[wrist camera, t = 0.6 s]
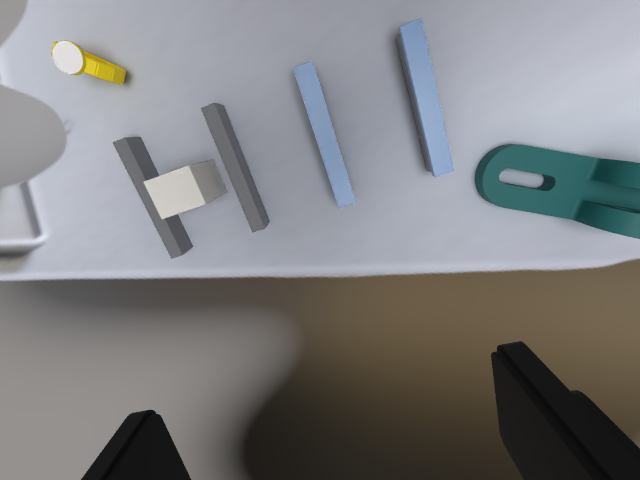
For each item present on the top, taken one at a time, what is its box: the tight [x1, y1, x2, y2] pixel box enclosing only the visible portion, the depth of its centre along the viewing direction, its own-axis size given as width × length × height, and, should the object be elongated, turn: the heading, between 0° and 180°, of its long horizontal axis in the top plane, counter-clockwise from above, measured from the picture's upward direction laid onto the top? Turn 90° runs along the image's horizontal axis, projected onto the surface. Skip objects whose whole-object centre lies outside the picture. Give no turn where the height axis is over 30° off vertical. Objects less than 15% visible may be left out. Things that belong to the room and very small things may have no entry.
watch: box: [51, 41, 126, 84], centre depth 33 cm, size 6×3×6 cm, turn 66°
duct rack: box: [113, 18, 454, 259], centre depth 36 cm, size 14×33×4 cm, turn 109°
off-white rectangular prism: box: [144, 160, 227, 219], centre depth 36 cm, size 4×5×7 cm
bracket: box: [475, 144, 640, 239], centre depth 34 cm, size 18×7×8 cm, turn 80°
